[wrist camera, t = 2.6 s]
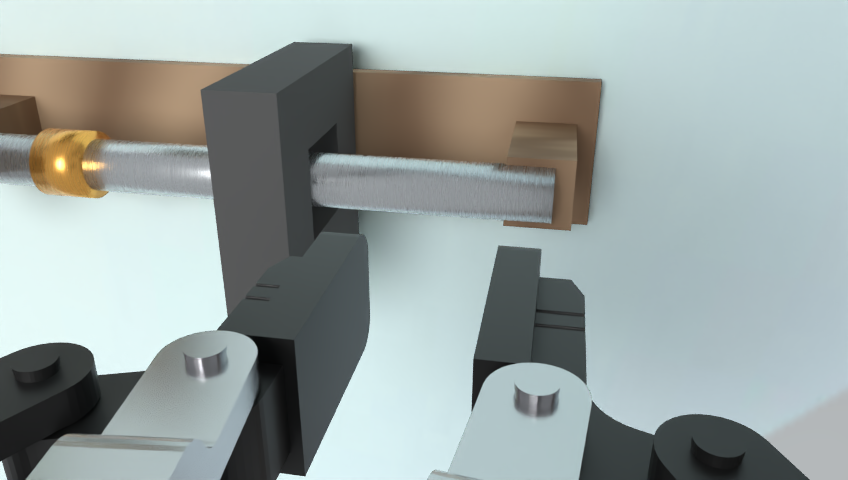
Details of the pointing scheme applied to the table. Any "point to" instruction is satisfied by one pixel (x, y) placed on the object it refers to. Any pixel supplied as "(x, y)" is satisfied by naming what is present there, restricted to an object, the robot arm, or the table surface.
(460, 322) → the table surface
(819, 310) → the table surface
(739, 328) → the table surface
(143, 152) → the pipe
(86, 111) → the stand
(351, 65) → the dark grey frame
